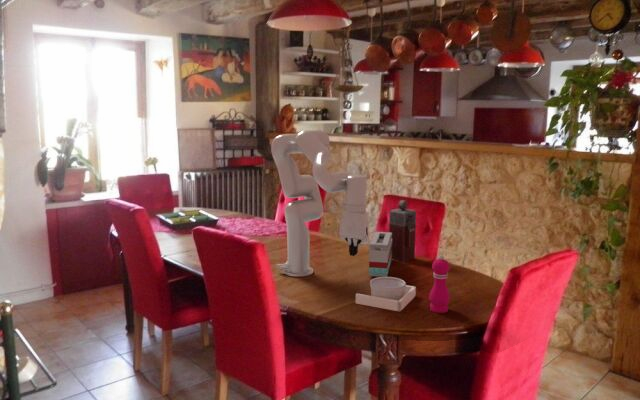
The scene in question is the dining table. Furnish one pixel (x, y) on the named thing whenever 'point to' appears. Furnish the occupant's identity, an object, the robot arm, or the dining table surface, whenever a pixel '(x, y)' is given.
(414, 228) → the square decanter
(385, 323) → the dining table surface
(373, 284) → the ramekin
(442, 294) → the pepper mill
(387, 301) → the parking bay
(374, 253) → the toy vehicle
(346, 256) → the dining table surface
